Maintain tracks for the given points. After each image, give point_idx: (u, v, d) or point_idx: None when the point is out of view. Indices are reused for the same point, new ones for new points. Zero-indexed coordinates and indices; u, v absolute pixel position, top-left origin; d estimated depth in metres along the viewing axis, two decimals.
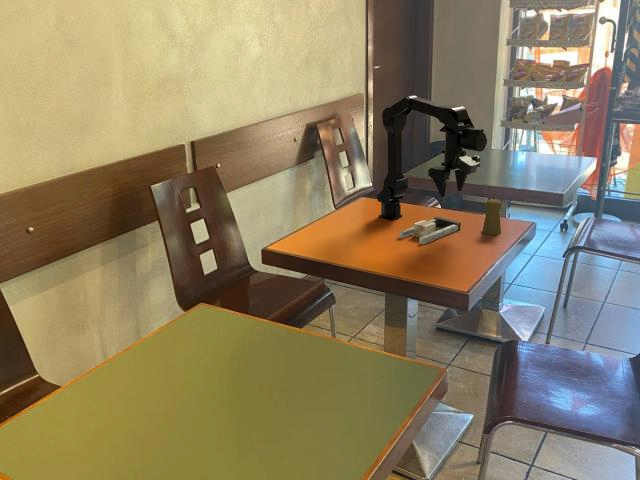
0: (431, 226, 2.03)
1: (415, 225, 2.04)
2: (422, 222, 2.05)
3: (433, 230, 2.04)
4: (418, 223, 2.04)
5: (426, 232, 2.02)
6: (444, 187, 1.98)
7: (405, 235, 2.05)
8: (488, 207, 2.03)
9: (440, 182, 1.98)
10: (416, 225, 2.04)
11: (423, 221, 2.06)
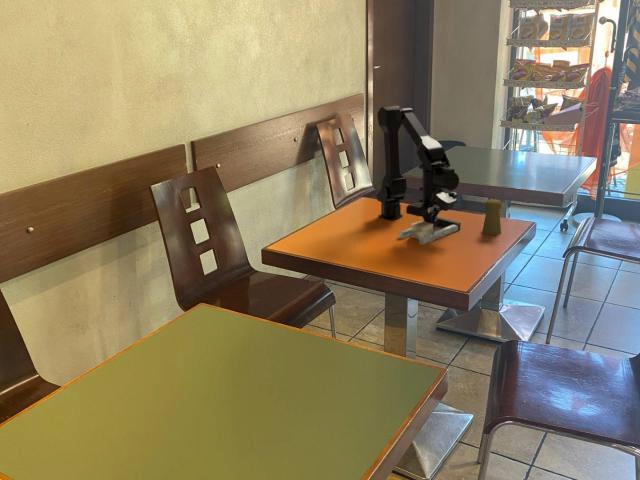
0: (428, 227, 2.02)
1: (412, 226, 2.03)
2: (419, 223, 2.04)
3: (431, 231, 2.03)
4: (415, 224, 2.03)
5: (424, 233, 2.01)
6: (431, 220, 2.04)
7: (405, 235, 2.05)
8: (488, 207, 2.03)
9: (427, 215, 2.05)
10: (413, 226, 2.03)
11: (420, 222, 2.05)
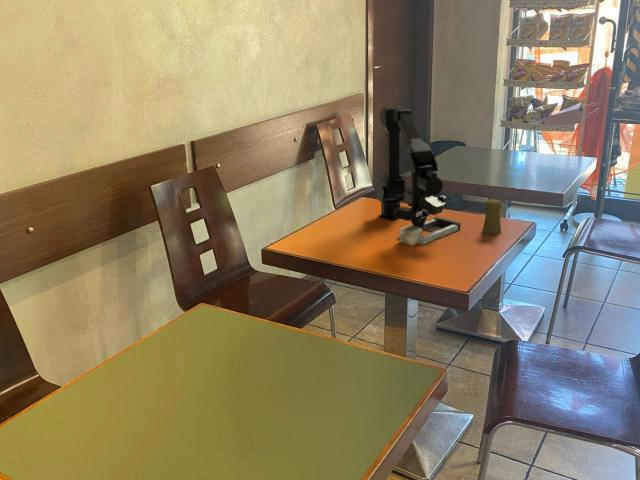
0: (417, 231, 1.98)
1: (401, 230, 1.99)
2: (408, 227, 2.00)
3: (420, 235, 2.00)
4: (404, 228, 2.00)
5: (412, 237, 1.97)
6: (420, 224, 2.01)
7: None
8: (488, 207, 2.03)
9: (416, 219, 2.01)
10: (402, 230, 1.99)
11: (409, 226, 2.01)
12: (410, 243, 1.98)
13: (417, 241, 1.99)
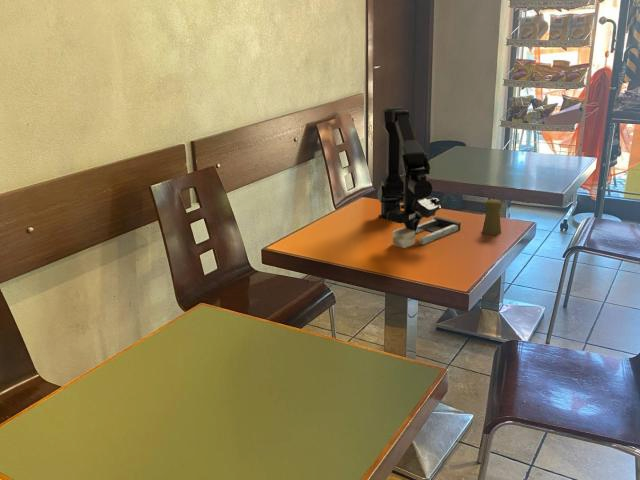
0: (410, 234, 1.96)
1: (394, 233, 1.97)
2: (401, 230, 1.98)
3: (412, 238, 1.97)
4: (397, 231, 1.98)
5: (405, 240, 1.95)
6: (413, 227, 1.99)
7: None
8: (488, 207, 2.03)
9: (409, 222, 1.99)
10: (395, 233, 1.97)
11: (402, 229, 1.99)
12: (403, 246, 1.96)
13: (410, 244, 1.97)
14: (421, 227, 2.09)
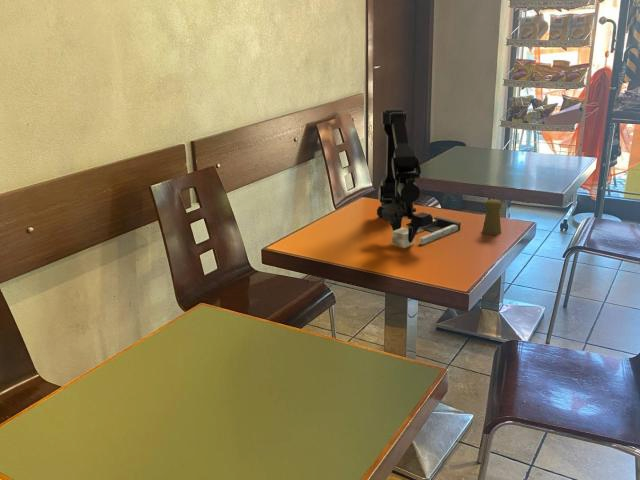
0: None
1: (393, 233, 1.97)
2: (401, 230, 1.98)
3: None
4: (396, 231, 1.98)
5: (404, 240, 1.95)
6: (393, 228, 1.99)
7: None
8: (488, 207, 2.03)
9: None
10: (394, 233, 1.97)
11: (402, 229, 1.99)
12: (402, 246, 1.96)
13: (410, 244, 1.97)
14: (421, 227, 2.09)
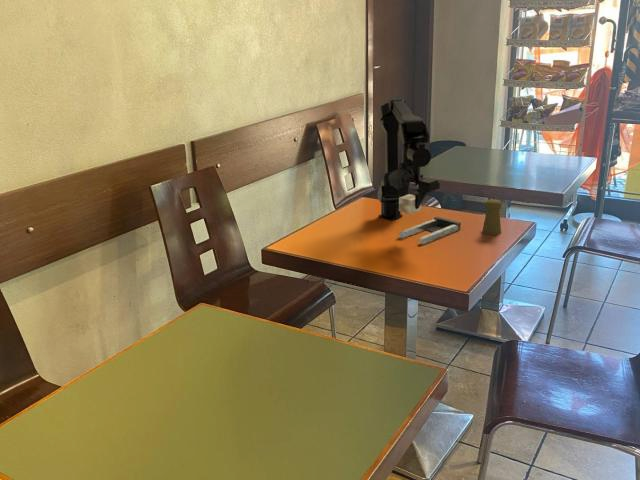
0: None
1: (400, 199, 1.98)
2: (407, 196, 1.99)
3: None
4: (403, 197, 1.98)
5: (411, 206, 1.96)
6: (400, 194, 2.00)
7: (405, 235, 2.05)
8: (488, 207, 2.03)
9: None
10: (401, 199, 1.98)
11: (409, 195, 2.00)
12: (409, 212, 1.97)
13: (416, 210, 1.98)
14: (421, 227, 2.09)
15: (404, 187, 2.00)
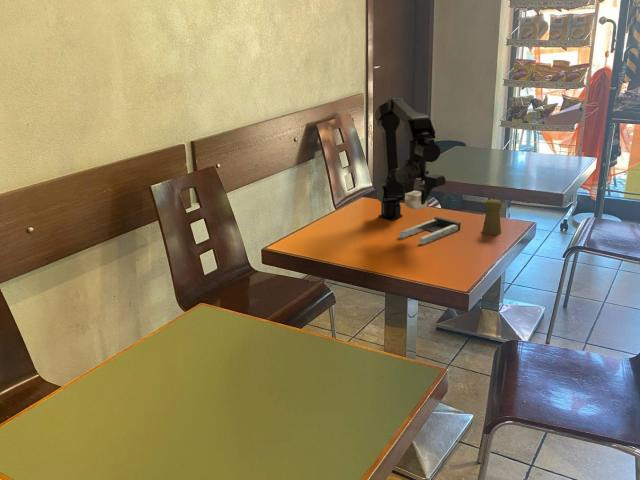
0: None
1: (406, 195, 2.01)
2: (413, 192, 2.02)
3: None
4: (409, 193, 2.01)
5: (417, 202, 1.98)
6: (405, 190, 2.03)
7: (405, 235, 2.05)
8: (488, 207, 2.03)
9: None
10: (407, 195, 2.00)
11: (415, 191, 2.03)
12: (415, 208, 1.99)
13: (422, 206, 2.01)
14: (421, 227, 2.09)
15: (410, 183, 2.02)
